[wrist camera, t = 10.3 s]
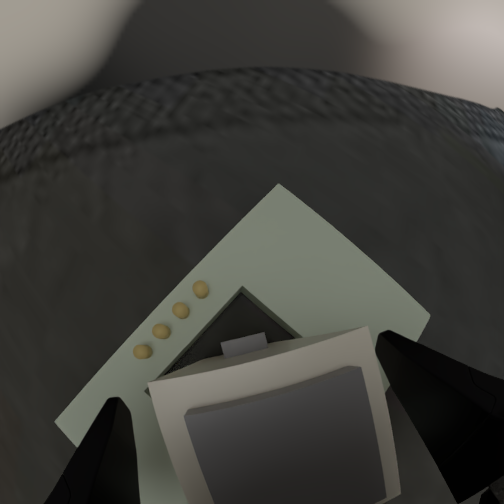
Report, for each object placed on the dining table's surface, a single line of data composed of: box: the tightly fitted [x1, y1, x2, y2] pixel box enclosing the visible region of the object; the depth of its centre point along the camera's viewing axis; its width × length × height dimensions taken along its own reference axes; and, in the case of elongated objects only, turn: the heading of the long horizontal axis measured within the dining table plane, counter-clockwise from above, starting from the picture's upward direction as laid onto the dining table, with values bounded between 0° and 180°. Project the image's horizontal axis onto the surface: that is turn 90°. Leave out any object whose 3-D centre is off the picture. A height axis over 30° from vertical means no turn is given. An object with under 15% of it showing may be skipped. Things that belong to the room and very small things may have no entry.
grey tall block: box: [147, 326, 401, 504], centre depth 10 cm, size 5×4×14 cm
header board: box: [55, 184, 431, 504], centre depth 15 cm, size 22×14×3 cm, turn 139°
